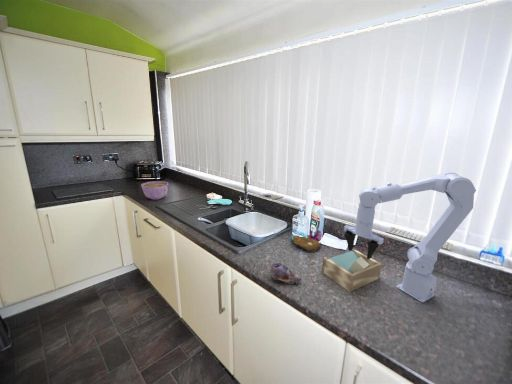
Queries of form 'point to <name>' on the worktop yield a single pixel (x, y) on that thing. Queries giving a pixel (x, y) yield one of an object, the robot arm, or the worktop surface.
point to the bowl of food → (155, 189)
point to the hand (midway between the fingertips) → (359, 253)
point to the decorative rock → (306, 243)
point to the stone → (358, 265)
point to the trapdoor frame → (355, 279)
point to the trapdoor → (345, 260)
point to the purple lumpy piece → (283, 273)
